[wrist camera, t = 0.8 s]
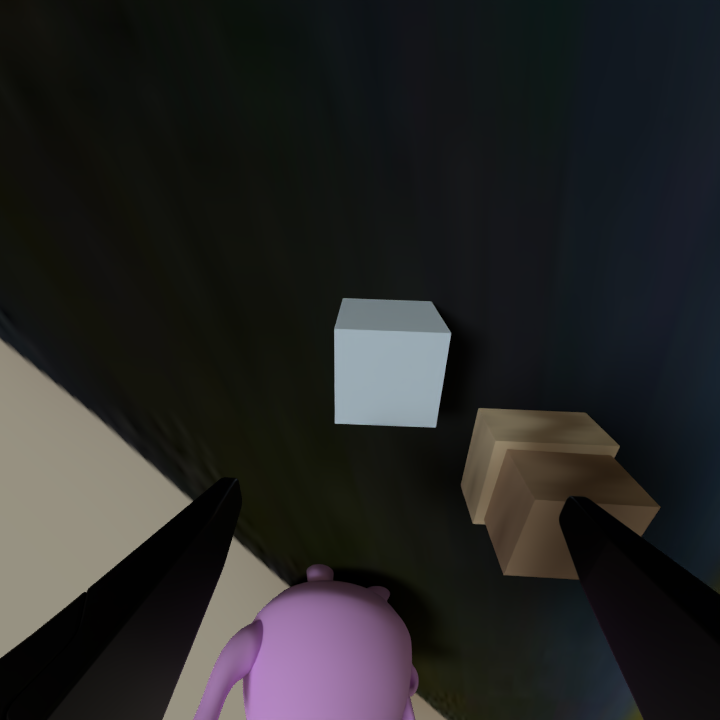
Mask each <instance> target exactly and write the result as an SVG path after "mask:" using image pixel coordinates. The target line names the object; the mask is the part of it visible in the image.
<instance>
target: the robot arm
mask: <svg viewBox="0 0 720 720" xmlns="http://www.w3.org/2000/svg"><path fill="white" fill-rule="evenodd" d="M241 505H242V496H241V491H240V485H239V481H238V479H237V478H227V477H224V478H221V479H220V480H218V481H217V482H216V483H215V484H214V485H212V486H211V487H210V488H209V489H208V490H206V491H205V492H204V493H203V494H202V495H200V496H199V497H198V498H197V499H196V500H194V501H193V502H192V503H191V504H190V505H189V506H187V507H186V508H185V509H184V510H182V511H181V512H180V513H179V514H177V515H176V516H175V517H174V518H173V519H171V520H170V521H169V522H168V523H167V524H165V526H163V527H162V528H161V529H159V530H158V531H157V532H156V533H155V534H153V535H152V536H151V537H150V538H149V539H148V540H146V541H145V542H144V543H143V544H141V545H140V546H139V547H138V548H137V549H136V550H134V551H133V552H132V553H131V554H129V555H128V556H127V557H126V558H125V559H123V560H122V561H121V562H120V563H118V564H117V565H116V566H115V567H114V568H112V569H111V570H110V571H109V572H108V573H106V574H105V575H104V576H103V577H102V578H100V579H99V580H98V581H97V582H96V583H94V584H93V585H92V586H91V587H90V588H88V590H87V592H84V593H82V594H81V595H80V596H79V597H78V598H76V599H75V600H74V601H73V602H71V603H70V604H69V605H68V606H67V607H66V608H64V609H63V610H62V611H60V612H59V613H58V614H57V615H55V616H54V617H53V618H52V619H50V620H49V621H48V622H47V623H45V624H44V625H43V626H42V627H41V628H39V629H38V630H37V631H36V632H34V633H33V634H32V635H31V636H29V637H28V638H26V639H25V640H24V641H23V642H21V643H20V644H19V645H17V646H16V647H15V648H13V649H12V650H11V651H9V652H8V653H7V654H5V655H4V656H3V657H1V658H0V720H162V719H163V717H164V714H165V712H166V709H167V707H168V704H169V702H170V699H171V697H172V694H173V692H174V689H175V687H176V684H177V682H178V679H179V677H180V674H181V672H182V669H183V667H184V664H185V662H186V660H187V657H188V654H189V652H190V650H191V647H192V645H193V642H194V640H195V637H196V635H197V632H198V630H199V627H200V625H201V622H202V619H203V617H204V615H205V612H206V610H207V607H208V605H209V602H210V600H211V597H212V595H213V592H214V590H215V587H216V585H217V582H218V580H219V577H220V575H221V572H222V570H223V567H224V564H225V561H226V558H227V554H228V551H229V547H230V544H231V541H232V537H233V534H234V530H235V527H236V523H237V520H238V516H239V513H240V510H241ZM559 524H560V527H561V530H562V533H563V536H564V538H565V541H566V544H567V547H568V550H569V552H570V555H571V558H572V561H573V564H574V566H575V569H576V572H577V575H578V577H579V580H580V582H581V585H582V587H583V590H584V592H585V594H586V596H587V599H588V601H589V603H590V605H591V607H592V609H593V612H594V614H595V616H596V618H597V620H598V622H599V624H600V627H601V629H602V631H603V633H604V635H605V637H606V640H607V642H608V644H609V646H610V648H611V650H612V652H613V655H614V657H615V659H616V661H617V663H618V665H619V668H620V670H621V672H622V674H623V676H624V678H625V680H626V683H627V685H628V687H629V689H630V691H631V693H632V696H633V698H634V700H635V702H636V704H637V706H638V709H639V711H640V713H641V715H642V717H643V719H644V720H720V594H718V593H717V592H716V591H714V590H713V589H711V588H710V587H709V586H707V585H706V584H705V583H703V582H702V581H701V580H699V579H698V578H696V577H695V576H694V575H692V574H691V573H690V572H688V571H687V570H686V569H684V568H683V567H681V566H680V565H679V564H677V563H676V562H675V561H673V560H672V559H671V558H669V557H668V556H667V555H665V554H664V553H662V552H661V551H660V550H658V549H657V548H656V547H654V546H653V545H652V544H650V543H649V542H647V541H646V540H645V539H643V538H642V537H641V536H639V535H638V534H637V533H635V532H634V531H632V530H631V529H630V528H628V527H627V526H626V525H624V524H623V523H622V522H620V521H619V520H618V519H616V518H615V517H613V516H612V515H611V514H609V513H608V512H607V511H605V510H604V509H603V508H601V507H600V506H598V505H597V504H596V503H594V502H593V501H592V500H590V499H589V498H587V497H584V496H569V497H568V498H567V499H566V501H565V504H564V506H563V508H562V510H561V513H560V515H559Z"/></svg>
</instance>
